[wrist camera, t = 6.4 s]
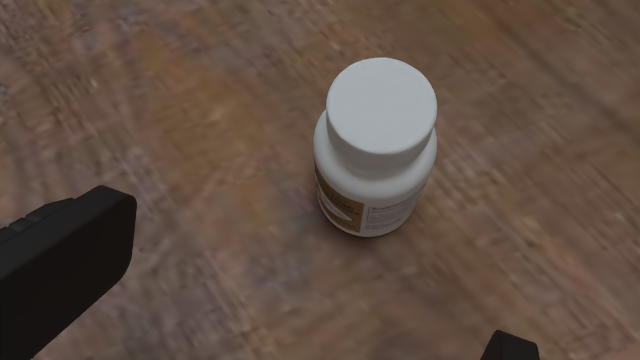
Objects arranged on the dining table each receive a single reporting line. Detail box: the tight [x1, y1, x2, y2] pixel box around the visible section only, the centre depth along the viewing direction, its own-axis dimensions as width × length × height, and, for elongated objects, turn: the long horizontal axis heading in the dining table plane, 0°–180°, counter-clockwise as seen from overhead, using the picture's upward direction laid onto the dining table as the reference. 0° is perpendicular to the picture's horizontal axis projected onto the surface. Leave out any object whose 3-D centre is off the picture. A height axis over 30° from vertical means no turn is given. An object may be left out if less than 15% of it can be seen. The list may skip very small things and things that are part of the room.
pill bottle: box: [314, 58, 437, 237], centre depth 20 cm, size 4×4×8 cm
